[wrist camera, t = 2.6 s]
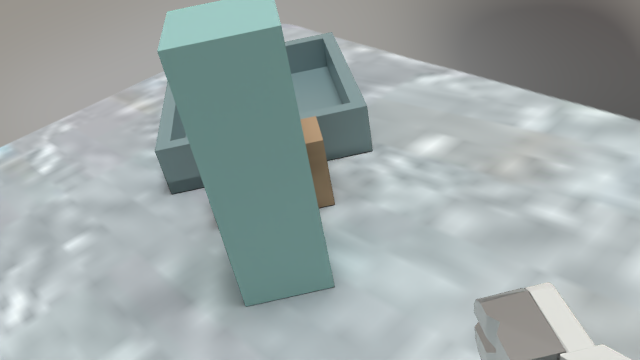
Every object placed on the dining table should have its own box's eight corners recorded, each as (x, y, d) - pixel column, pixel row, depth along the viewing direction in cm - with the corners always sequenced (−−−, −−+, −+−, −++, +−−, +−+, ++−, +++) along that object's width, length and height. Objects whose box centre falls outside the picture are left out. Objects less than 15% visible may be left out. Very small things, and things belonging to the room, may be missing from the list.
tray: (171, 194, 33) (154, 151, 31) (182, 102, 43) (170, 65, 41) (372, 150, 33) (367, 105, 31) (337, 69, 43) (331, 32, 41)
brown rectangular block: (222, 228, 29) (201, 166, 27) (222, 200, 31) (202, 140, 29) (334, 204, 30) (323, 140, 27) (327, 177, 32) (315, 116, 29)
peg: (245, 306, 25) (157, 51, 18) (242, 246, 28) (167, 11, 21) (334, 286, 25) (281, 25, 18) (321, 229, 28) (271, -11, 21)
